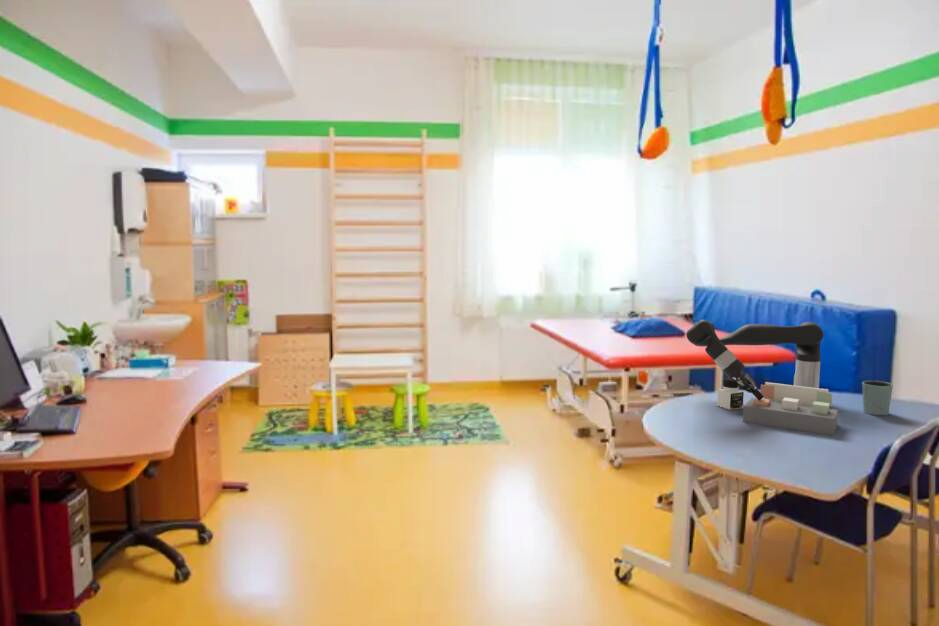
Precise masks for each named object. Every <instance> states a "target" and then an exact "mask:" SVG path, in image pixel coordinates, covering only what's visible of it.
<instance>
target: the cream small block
mask: <svg viewBox="0 0 939 626" xmlns="http://www.w3.org/2000/svg"><path fill="white" fill-rule="evenodd" d="M782 409H789V410H796V411H798V409H799V399H793V398H784V399H783V400H782Z"/></svg>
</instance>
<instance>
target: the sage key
mask: <svg viewBox="0 0 939 626" xmlns="http://www.w3.org/2000/svg"><path fill="white" fill-rule="evenodd" d="M829 405H830V403H824V402H816V401H814V402H813V404H812V413H818V414H825V415H829V409H830V406H829Z"/></svg>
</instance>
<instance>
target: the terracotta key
mask: <svg viewBox="0 0 939 626" xmlns="http://www.w3.org/2000/svg"><path fill="white" fill-rule="evenodd" d="M754 399H755V400H754V401H753V405H760V406H767V407H768V406H769V405H770V400H769V399H764V398H762V399H761V400H758V399H757V398H756V397H755V398H754Z"/></svg>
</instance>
